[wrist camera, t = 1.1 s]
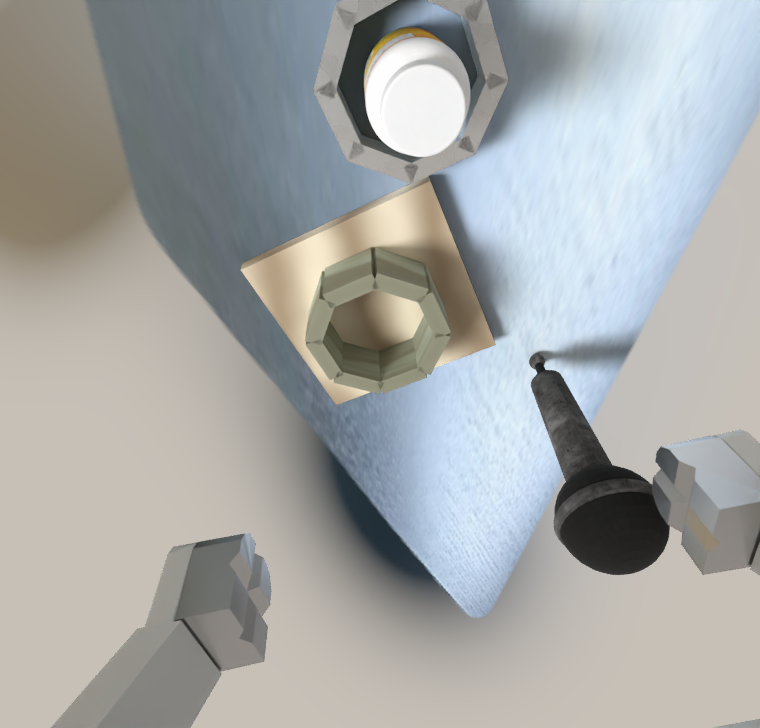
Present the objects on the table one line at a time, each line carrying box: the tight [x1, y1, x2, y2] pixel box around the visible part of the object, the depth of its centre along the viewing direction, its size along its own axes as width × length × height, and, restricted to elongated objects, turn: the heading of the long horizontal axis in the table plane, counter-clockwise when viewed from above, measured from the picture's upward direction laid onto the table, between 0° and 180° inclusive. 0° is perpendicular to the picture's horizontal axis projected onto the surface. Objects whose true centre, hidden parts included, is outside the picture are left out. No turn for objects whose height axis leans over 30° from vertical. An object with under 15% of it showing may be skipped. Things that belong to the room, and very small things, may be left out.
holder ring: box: [313, 0, 509, 184], centre depth 30 cm, size 10×10×2 cm
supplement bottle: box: [364, 27, 471, 157], centre depth 27 cm, size 5×5×10 cm
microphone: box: [529, 354, 670, 575], centre depth 37 cm, size 7×7×20 cm
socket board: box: [241, 176, 496, 405], centre depth 39 cm, size 15×15×5 cm
